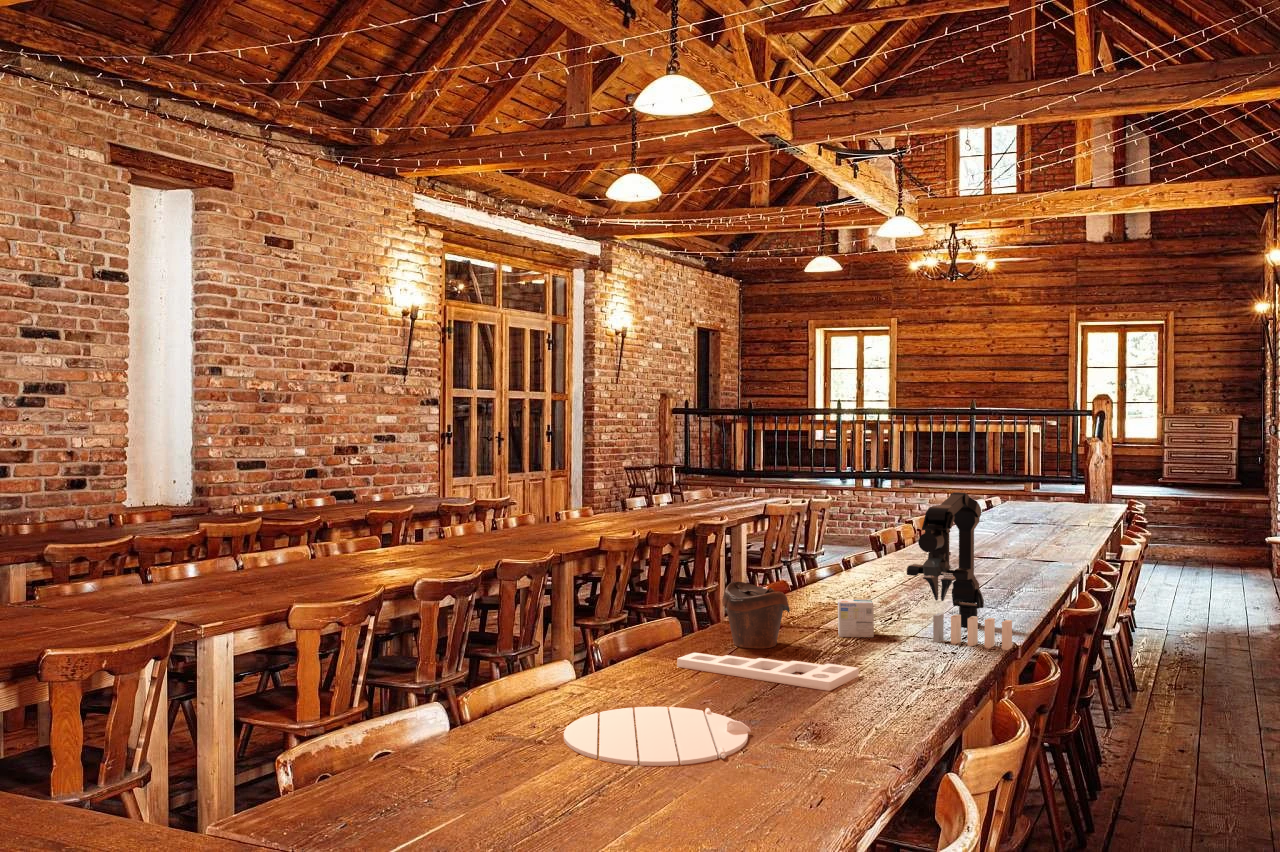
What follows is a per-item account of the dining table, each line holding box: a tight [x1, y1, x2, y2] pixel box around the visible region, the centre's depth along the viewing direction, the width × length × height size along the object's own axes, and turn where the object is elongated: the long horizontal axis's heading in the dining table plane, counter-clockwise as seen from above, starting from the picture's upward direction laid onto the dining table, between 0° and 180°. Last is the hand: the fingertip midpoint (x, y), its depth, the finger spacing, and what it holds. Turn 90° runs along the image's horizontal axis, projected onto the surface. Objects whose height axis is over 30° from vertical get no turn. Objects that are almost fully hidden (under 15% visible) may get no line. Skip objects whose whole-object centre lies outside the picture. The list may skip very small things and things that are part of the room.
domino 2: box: [950, 613, 962, 645], centre depth 321 cm, size 4×2×8 cm, turn 145°
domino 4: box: [984, 617, 996, 649], centre depth 316 cm, size 4×2×8 cm, turn 145°
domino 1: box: [932, 612, 945, 643], centre depth 323 cm, size 4×2×8 cm, turn 145°
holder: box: [676, 652, 859, 692], centre depth 286 cm, size 45×18×3 cm, turn 55°
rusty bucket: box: [721, 581, 791, 650], centre depth 319 cm, size 18×20×18 cm
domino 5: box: [1001, 619, 1013, 651], centre depth 313 cm, size 4×2×8 cm, turn 145°
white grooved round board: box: [563, 706, 752, 767], centre depth 230 cm, size 40×39×3 cm
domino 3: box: [967, 615, 979, 647], centre depth 318 cm, size 4×2×8 cm, turn 145°
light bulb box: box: [837, 598, 875, 638], centre depth 332 cm, size 11×7×11 cm, turn 84°
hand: (939, 600), depth 324 cm, fingers closed
